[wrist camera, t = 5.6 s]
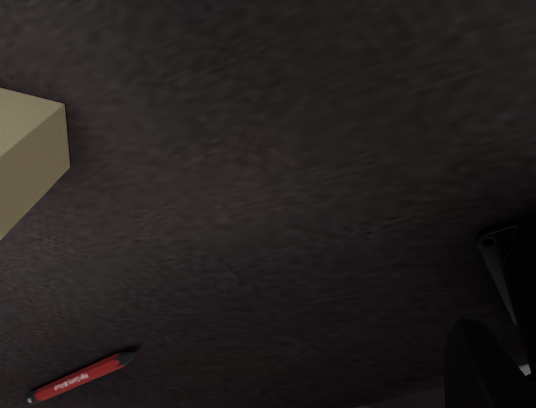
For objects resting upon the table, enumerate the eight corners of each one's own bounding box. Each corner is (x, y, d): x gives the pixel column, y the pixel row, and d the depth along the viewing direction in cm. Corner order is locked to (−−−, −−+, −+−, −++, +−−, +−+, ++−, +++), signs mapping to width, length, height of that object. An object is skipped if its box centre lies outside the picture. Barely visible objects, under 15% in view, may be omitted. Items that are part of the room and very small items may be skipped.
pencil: (147, 349, 33) (142, 361, 32) (36, 397, 39) (29, 408, 38) (138, 341, 32) (132, 353, 31) (28, 391, 39) (20, 402, 38)
